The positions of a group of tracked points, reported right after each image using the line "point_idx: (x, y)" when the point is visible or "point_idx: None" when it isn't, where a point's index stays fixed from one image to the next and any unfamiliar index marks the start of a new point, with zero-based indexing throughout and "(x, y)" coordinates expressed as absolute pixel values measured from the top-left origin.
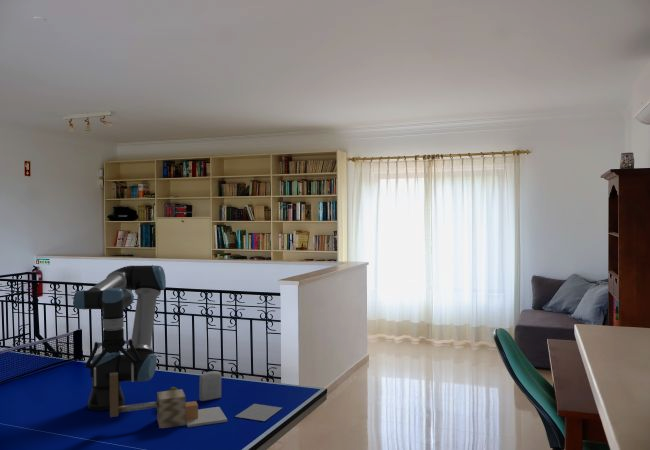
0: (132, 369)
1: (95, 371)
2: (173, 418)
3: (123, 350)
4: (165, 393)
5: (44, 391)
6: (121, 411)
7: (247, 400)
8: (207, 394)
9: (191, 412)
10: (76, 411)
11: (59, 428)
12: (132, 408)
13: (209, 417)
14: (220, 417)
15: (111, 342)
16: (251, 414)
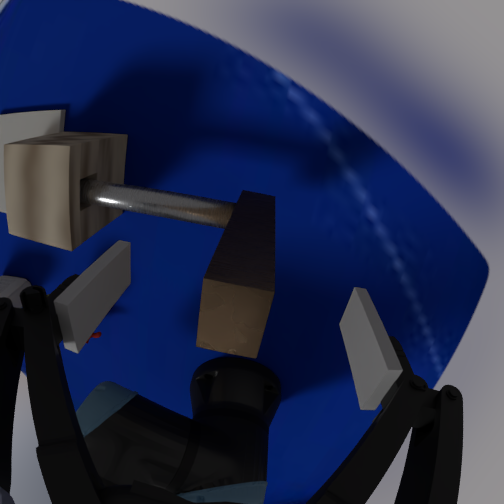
0: (81, 283)
1: (385, 354)
2: (77, 135)
3: (47, 463)
4: (47, 216)
5: (320, 469)
6: (226, 201)
7: None
8: (11, 283)
9: None
10: (309, 386)
11: (384, 304)
12: (180, 193)
13: None
14: (1, 133)
15: None
16: None
